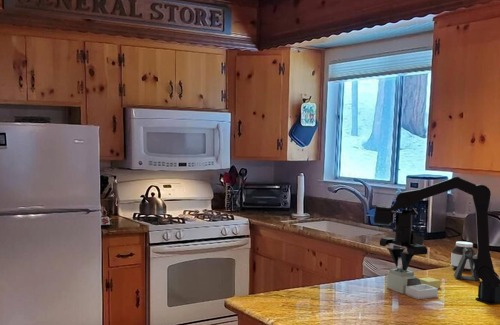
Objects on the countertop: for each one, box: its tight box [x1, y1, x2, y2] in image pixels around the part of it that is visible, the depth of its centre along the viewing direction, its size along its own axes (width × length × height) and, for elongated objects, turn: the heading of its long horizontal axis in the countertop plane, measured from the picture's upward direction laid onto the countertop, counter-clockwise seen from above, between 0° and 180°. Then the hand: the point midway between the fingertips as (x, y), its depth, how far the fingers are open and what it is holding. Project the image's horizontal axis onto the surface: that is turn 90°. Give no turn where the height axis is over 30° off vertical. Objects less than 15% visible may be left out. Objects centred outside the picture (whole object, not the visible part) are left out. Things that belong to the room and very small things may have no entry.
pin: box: [396, 257, 406, 273], centre depth 182 cm, size 3×3×6 cm
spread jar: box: [450, 240, 477, 272], centre depth 222 cm, size 12×11×12 cm
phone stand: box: [453, 248, 481, 282], centre depth 203 cm, size 9×6×12 cm, turn 75°
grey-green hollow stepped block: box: [386, 268, 421, 294], centre depth 183 cm, size 8×9×7 cm
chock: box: [417, 276, 441, 289], centre depth 188 cm, size 5×6×3 cm
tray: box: [405, 284, 439, 300], centre depth 175 cm, size 6×9×3 cm, turn 116°
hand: (401, 269), depth 182 cm, fingers closed on pin, 3 cm apart
